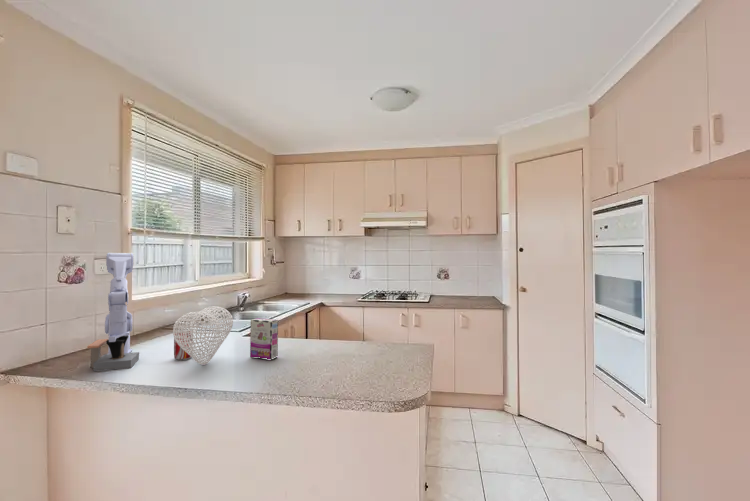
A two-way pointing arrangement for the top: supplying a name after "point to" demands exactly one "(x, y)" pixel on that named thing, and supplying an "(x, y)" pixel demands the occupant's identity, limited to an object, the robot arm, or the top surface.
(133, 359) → the socket block
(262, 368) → the top surface
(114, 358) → the peg
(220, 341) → the heart
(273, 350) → the candy bar box
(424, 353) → the top surface
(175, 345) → the soda can
